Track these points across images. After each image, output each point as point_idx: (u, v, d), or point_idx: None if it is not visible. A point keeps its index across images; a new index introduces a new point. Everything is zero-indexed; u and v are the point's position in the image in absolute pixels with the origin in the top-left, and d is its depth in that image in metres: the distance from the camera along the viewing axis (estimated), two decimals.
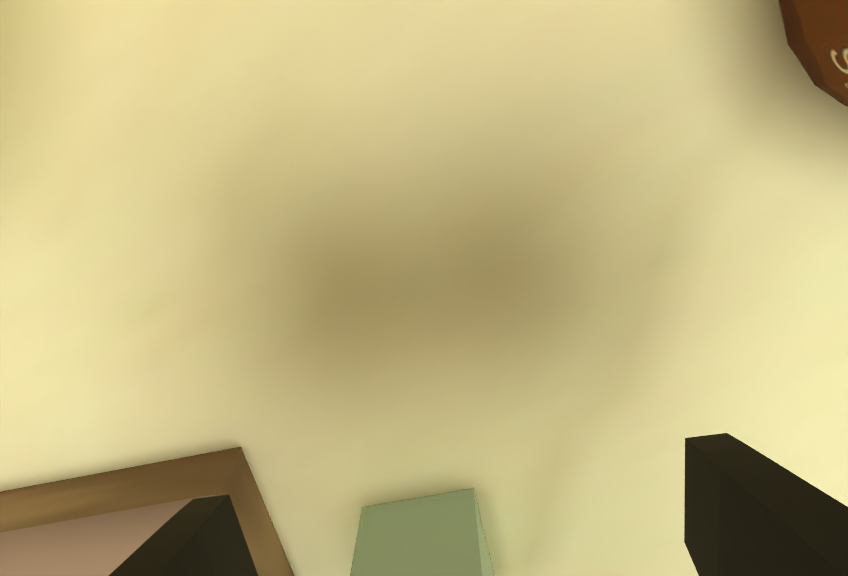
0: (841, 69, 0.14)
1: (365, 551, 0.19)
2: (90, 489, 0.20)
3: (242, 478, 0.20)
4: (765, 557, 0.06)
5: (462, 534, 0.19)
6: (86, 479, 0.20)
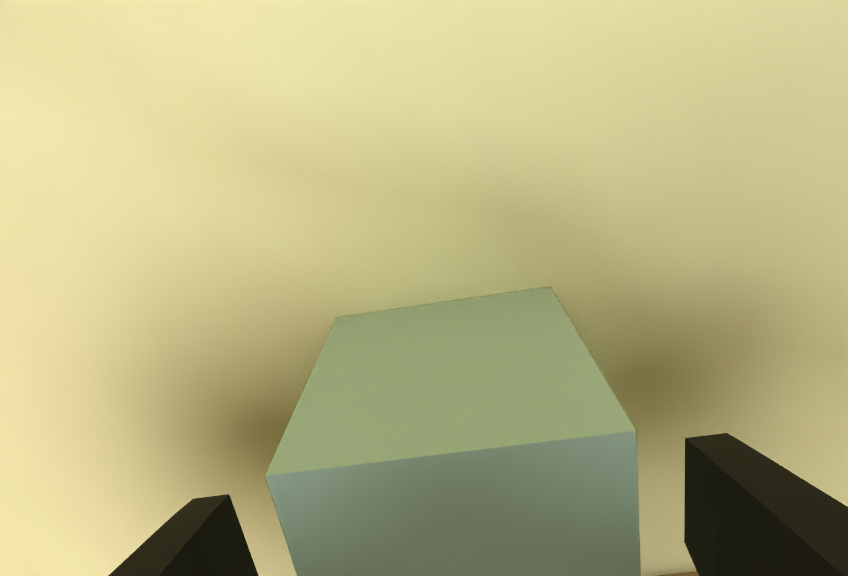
0: None
1: None
2: None
3: None
4: (765, 556, 0.06)
5: None
6: None
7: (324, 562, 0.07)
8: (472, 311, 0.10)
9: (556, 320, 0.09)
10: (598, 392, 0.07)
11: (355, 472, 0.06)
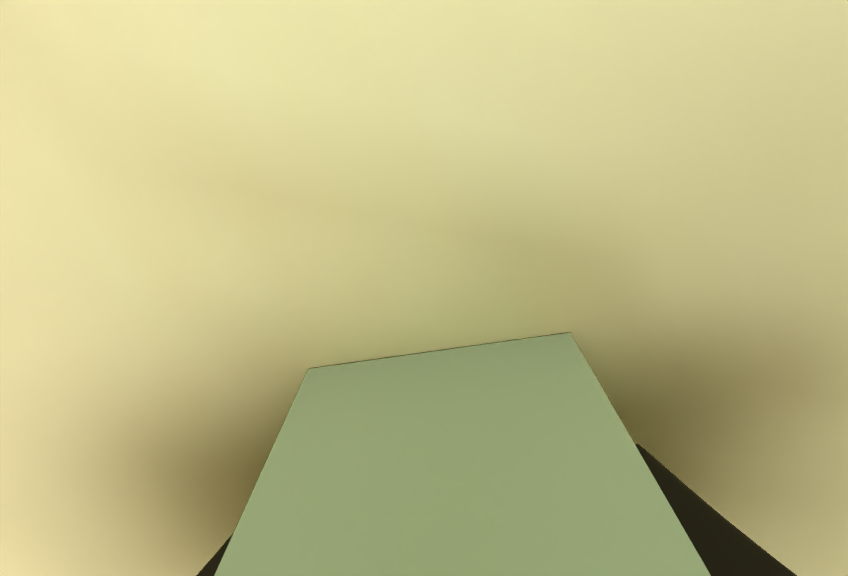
0: None
1: None
2: None
3: None
4: None
5: None
6: None
7: None
8: (475, 368, 0.08)
9: (584, 388, 0.07)
10: (657, 520, 0.05)
11: None
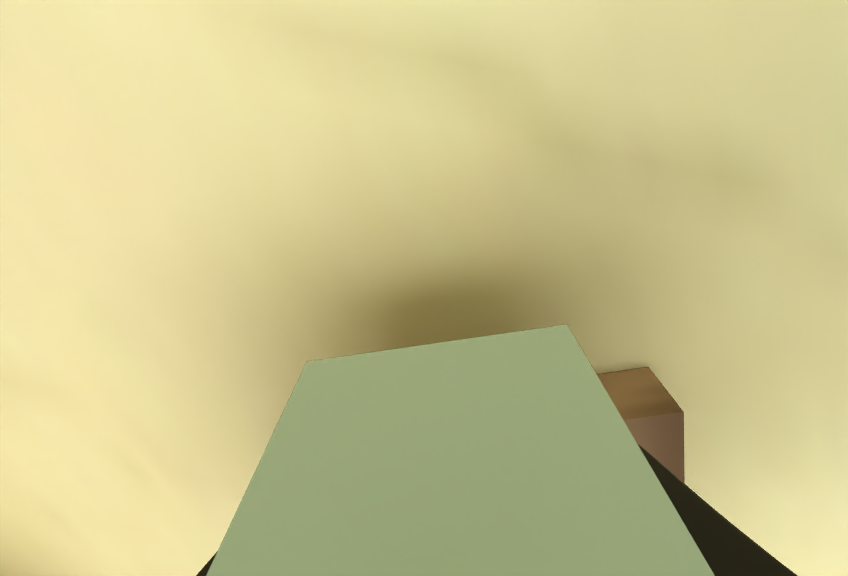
0: None
1: None
2: None
3: None
4: None
5: None
6: None
7: None
8: (472, 360, 0.08)
9: (580, 377, 0.07)
10: (651, 504, 0.05)
11: None
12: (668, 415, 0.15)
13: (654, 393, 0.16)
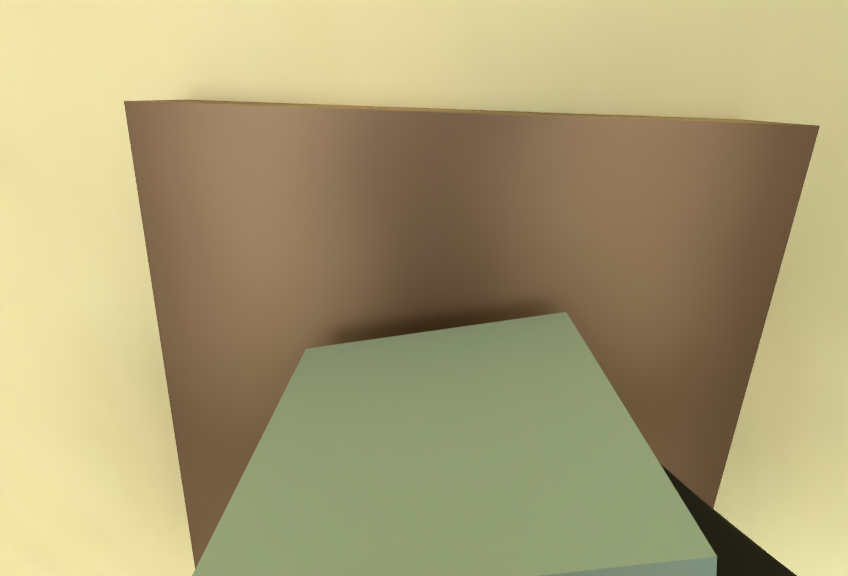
0: None
1: None
2: None
3: (215, 101, 0.11)
4: None
5: None
6: None
7: None
8: (471, 346, 0.08)
9: (579, 362, 0.07)
10: (650, 481, 0.05)
11: None
12: (793, 131, 0.09)
13: (761, 122, 0.10)
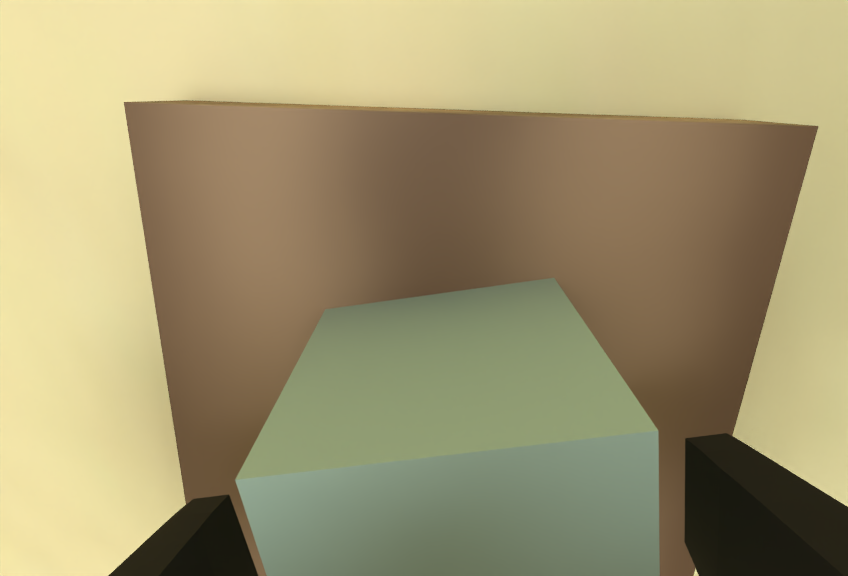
0: None
1: None
2: None
3: (215, 102, 0.11)
4: (765, 556, 0.06)
5: None
6: None
7: None
8: (471, 304, 0.09)
9: (562, 312, 0.09)
10: (612, 388, 0.06)
11: (338, 476, 0.06)
12: (792, 131, 0.09)
13: (760, 122, 0.10)
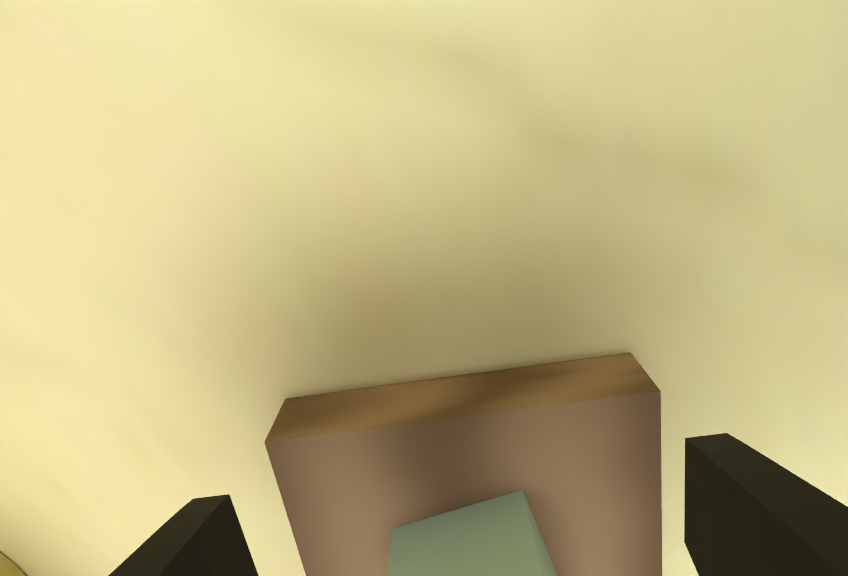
0: None
1: None
2: None
3: (305, 406, 0.18)
4: (765, 556, 0.06)
5: None
6: None
7: None
8: (475, 523, 0.16)
9: (524, 534, 0.15)
10: None
11: None
12: (646, 394, 0.16)
13: (634, 375, 0.16)
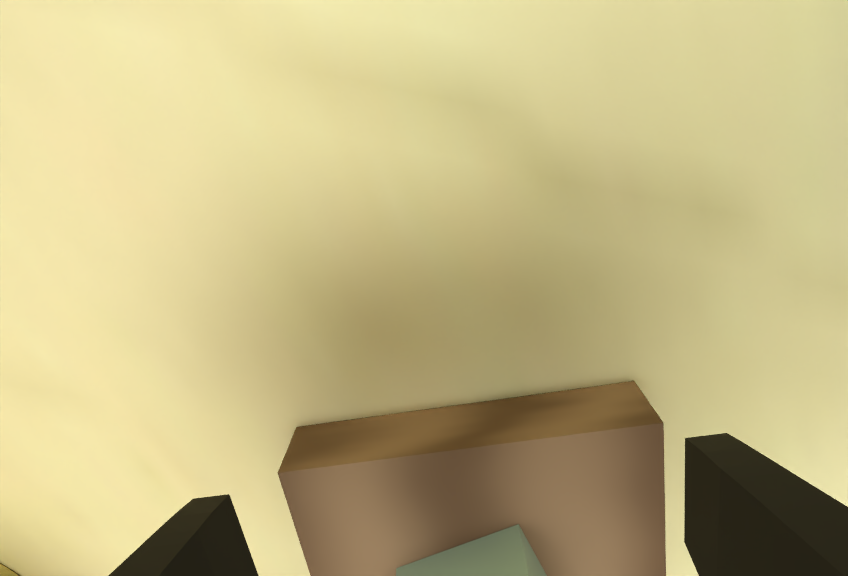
0: None
1: None
2: None
3: (316, 434, 0.18)
4: (765, 556, 0.06)
5: None
6: None
7: None
8: (474, 560, 0.17)
9: (520, 571, 0.16)
10: None
11: None
12: (649, 426, 0.16)
13: (637, 405, 0.17)
